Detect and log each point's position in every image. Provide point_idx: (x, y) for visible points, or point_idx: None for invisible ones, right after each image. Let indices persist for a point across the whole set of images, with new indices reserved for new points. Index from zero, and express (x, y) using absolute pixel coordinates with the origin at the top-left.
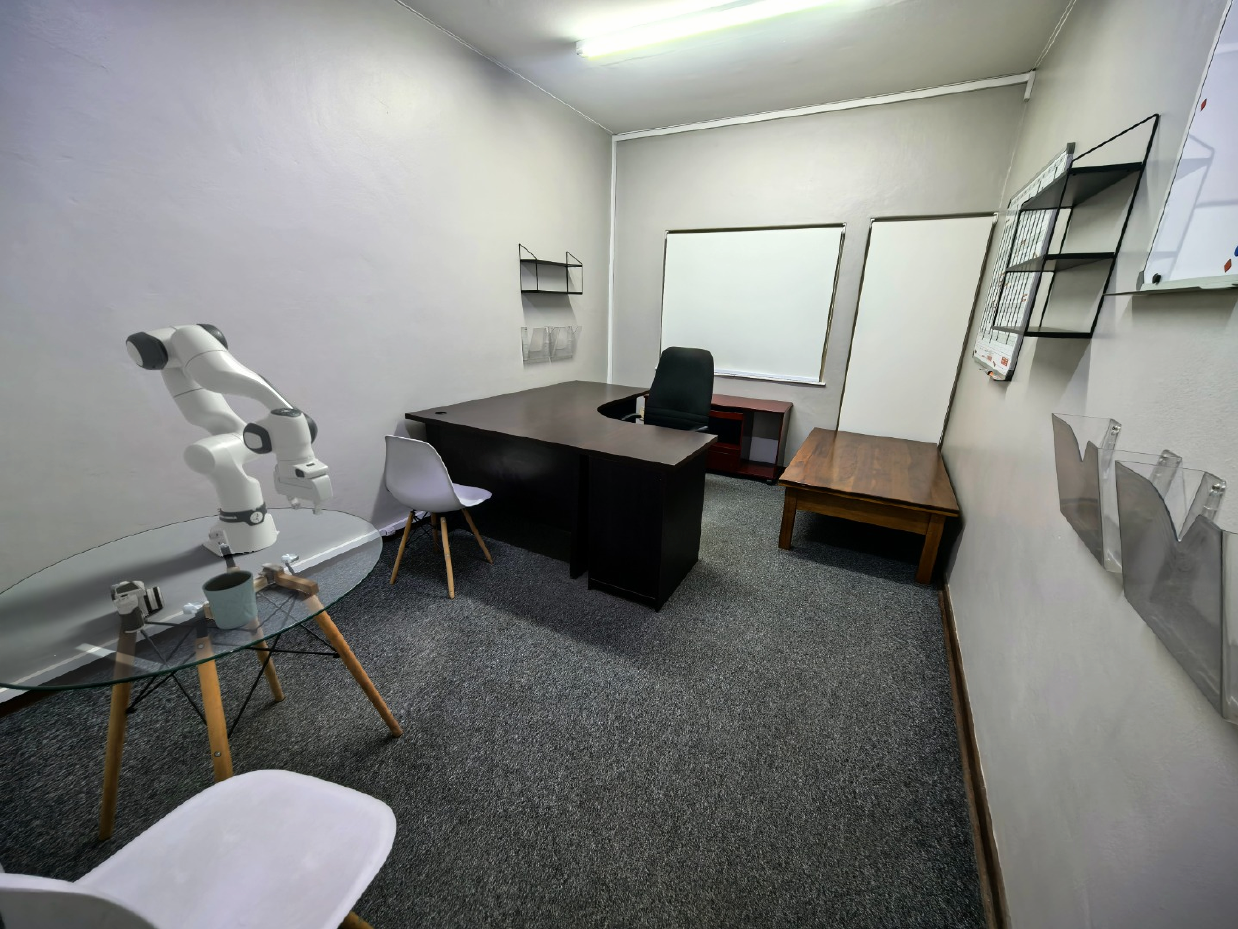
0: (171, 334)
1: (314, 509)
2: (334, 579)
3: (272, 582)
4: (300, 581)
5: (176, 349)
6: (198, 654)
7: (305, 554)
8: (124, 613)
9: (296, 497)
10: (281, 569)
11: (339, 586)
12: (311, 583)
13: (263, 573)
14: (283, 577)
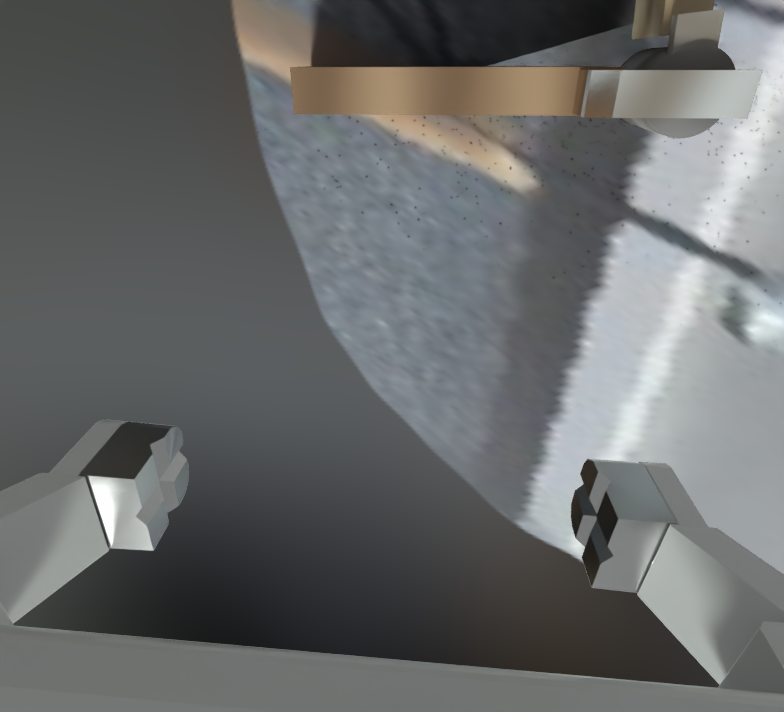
0: None
1: (67, 476)
2: (386, 247)
3: (631, 65)
4: (395, 82)
5: None
6: None
7: (721, 364)
8: None
9: (403, 670)
10: (583, 100)
11: (309, 210)
12: (315, 93)
13: (683, 25)
14: (537, 73)
